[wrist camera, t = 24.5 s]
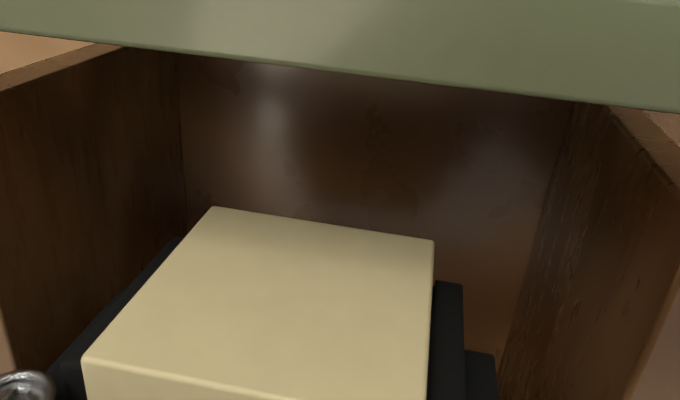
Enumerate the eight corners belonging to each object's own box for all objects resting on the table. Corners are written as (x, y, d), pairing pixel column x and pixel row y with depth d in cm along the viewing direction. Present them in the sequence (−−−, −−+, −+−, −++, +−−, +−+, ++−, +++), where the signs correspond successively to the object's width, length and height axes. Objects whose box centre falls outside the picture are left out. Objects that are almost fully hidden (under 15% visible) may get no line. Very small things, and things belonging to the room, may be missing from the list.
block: (211, 203, 11) (77, 357, 7) (435, 238, 11) (424, 428, 7) (217, 370, 13) (115, 562, 9) (405, 407, 13) (383, 630, 9)
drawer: (115, -316, 13) (-436, -712, 5) (749, -298, 11) (1506, -876, 3) (172, 357, 22) (16, 595, 14) (517, 426, 20) (558, 740, 12)
